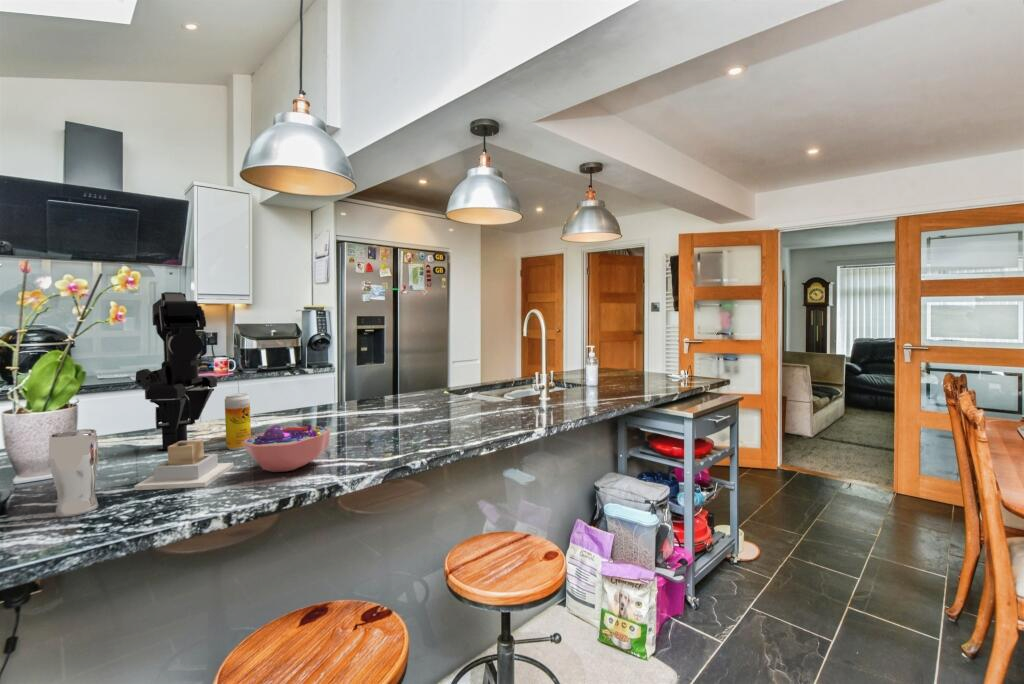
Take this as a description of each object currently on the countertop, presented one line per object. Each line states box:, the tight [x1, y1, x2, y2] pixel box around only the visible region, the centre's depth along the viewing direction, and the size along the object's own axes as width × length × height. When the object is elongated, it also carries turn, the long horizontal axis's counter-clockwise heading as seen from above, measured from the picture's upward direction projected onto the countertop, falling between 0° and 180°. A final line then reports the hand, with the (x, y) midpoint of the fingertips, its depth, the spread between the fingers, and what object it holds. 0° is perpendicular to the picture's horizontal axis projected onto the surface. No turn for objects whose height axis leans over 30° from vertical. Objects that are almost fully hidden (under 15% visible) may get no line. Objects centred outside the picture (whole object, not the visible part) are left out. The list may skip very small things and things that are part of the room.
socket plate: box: [133, 453, 235, 491], centre depth 109 cm, size 14×14×4 cm
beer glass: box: [48, 428, 100, 518], centre depth 90 cm, size 7×7×15 cm
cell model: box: [242, 424, 331, 473], centre depth 116 cm, size 17×20×11 cm
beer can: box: [224, 392, 252, 451], centre depth 134 cm, size 6×6×15 cm
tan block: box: [167, 439, 205, 465], centre depth 109 cm, size 5×5×7 cm
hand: (185, 424), depth 109 cm, fingers open, 9 cm apart
